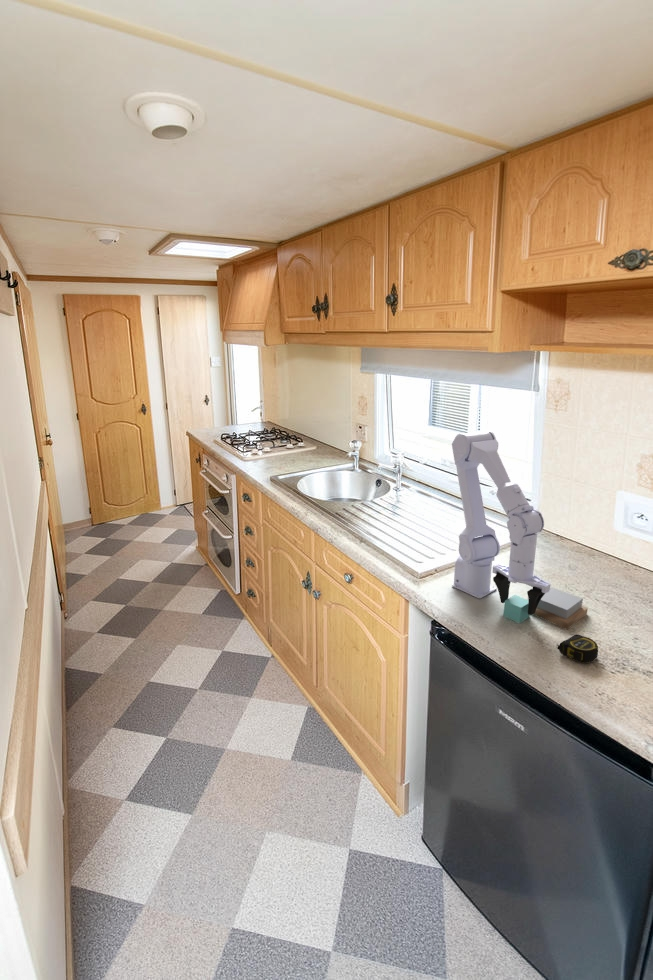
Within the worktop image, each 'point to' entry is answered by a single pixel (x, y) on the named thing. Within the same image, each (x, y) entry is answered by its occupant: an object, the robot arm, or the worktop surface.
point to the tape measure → (579, 648)
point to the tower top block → (560, 603)
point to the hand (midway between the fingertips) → (517, 607)
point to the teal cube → (516, 609)
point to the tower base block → (559, 620)
